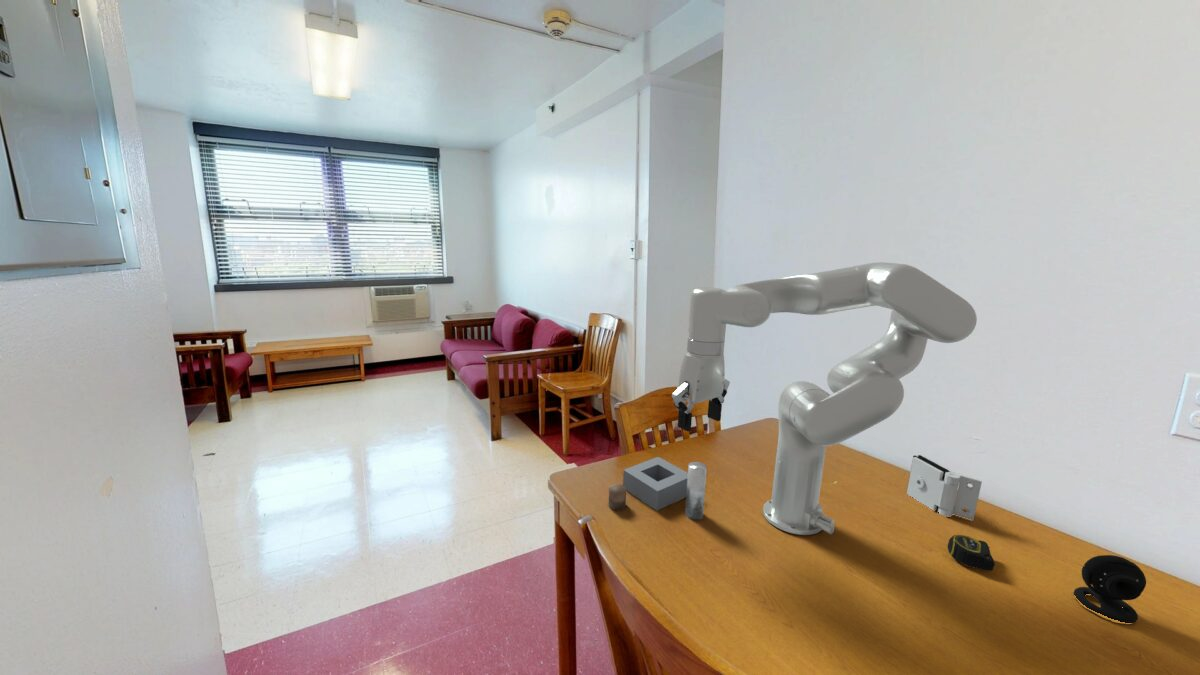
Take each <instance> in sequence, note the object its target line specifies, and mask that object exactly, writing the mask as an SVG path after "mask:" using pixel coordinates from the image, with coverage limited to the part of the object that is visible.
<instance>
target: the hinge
mask: <svg viewBox="0 0 1200 675" xmlns="http://www.w3.org/2000/svg"><path fill="white" fill-rule="evenodd" d="M908 478H909V479H908V483H907V488H906V495H907V494H908V497H910V496H911V497H910V498H912V497H913V498H914V499H913V498H912V499H913V500H915V499H916V500H915V501H916V502H918V501H919V502H918V503H920V502H921V503H922V504H921V503H920V504H921V505H923V504H924V505H926V506H927V507H929V508H930V509H932V510H936V511H937V513H938V512H939V514H941V515H944V516H949V517H950V516H952V517H953V515H952V514H955V515H958V516H961V517H965V518H968V519H971V520H973V521H974V520H975V515H976V510H977V505H978V502H979V498H980V497H979V496H980V492H981V487H982V482H983V480H982V479H979V478H975V477H972V476H968V475H964V474H961V473H957V472H955V471H954V470H952V469H950V468H948V467H946V466H944V465H942V464H940V463H938V462H937V461H934V460H932V459H931V458H929V457H927V456H923V455H921V454H919V455H913V456H912V460H911V466H910V472H909V477H908ZM969 485H972V486H969ZM924 505H923V506H924ZM926 506H925V507H926ZM927 507H926V508H927ZM937 507H938V508H937ZM929 508H928V509H929ZM930 509H929V510H930ZM964 509H966V511H964ZM932 510H931V511H932ZM939 514H938V515H939ZM941 515H940V516H941Z"/></svg>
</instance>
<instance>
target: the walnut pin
mask: <svg viewBox="0 0 1200 675" xmlns="http://www.w3.org/2000/svg"><path fill="white" fill-rule="evenodd" d="M626 503H627V491H626V487H625V486H624V485H623V483H622V484H621V483H613V484H611V485H609V487H608V508H609V509H610V510H613V511H615V512H616V511H617V512H618V511H623V510H624V509H626V508H627V507H626V506H627V504H626Z"/></svg>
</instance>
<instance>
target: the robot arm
mask: <svg viewBox="0 0 1200 675" xmlns="http://www.w3.org/2000/svg"><path fill="white" fill-rule="evenodd" d="M689 300H690V301H689V312H688V313H689V316H688V329H687V331H688V332H687V343H686V344H687V345H686V353H684V354H683V357H682V361H681V366H680V372H679V378H678V385H677V389H676V390H675V391H674V392H672V394H671V398H672V400H673V401H672V402H673V405H674V406H675V408H676V410H677V411H678V417H677V428H679V429H681V430H683V431H686V432H690V431H691V430H692V420H693V413H692V412H691V411H692V410H693V408H694V406H695V404H699V403H703V402H706V401H708V404H707V405H708V406H707V418H709V419H711V420H714V421H716V422H719V421H720V422H721V420H722V408H723V404H724V402H725V397H726V395H728V394H727V393H728V388H729V386H730V384H731V381H730V380H728V379H726V378H725V374H726V373H725V371H726V370H725V366H726V365H725V354H724V353H725V352H724V350H725V340H726V332H727V331H726V329H727V325H730V326H731V325H732V326H737V327H743V328H755V327H759V326H762V325H763V324H765V323H766V321H767V320H768V319H769V318H770V315H771V314H775V313H776V314H777V313H793V314H800V315H810V316H814V315H816V316H819V315H820V316H822V315H827V314H833V313H838V312H845V311H850V310H855V309H862V308H867V307H875V306H876V307H881V308H885V309H889V310H891V313H890V318H889V323H888V326H887V327H888V328H887V330H886V332H885V333H884V335H883V336H882V337H881V338H880V339H879V340H877V341H876V342H875V343H873V344H871V345H869V346H867V347H866V348H864V349H862V350H861V351H859V352H857V353H855V354H853V355H851V356H849V357H848V358H846V359H844V360H841V362H839V363H837V364H836V365H834V366H833V367H832V368H830V370H829V372H828V374H827V378H826V382H827V386H828V388H829V390H830V391H831V392H832V393H831V394H830V393H829V392H827V391H825V389H822V387H820V386H819V385H817V384H815V383H813V382H809V381H805V380H804V381H795V382H792V383H790V384H789V385H787V386H786V387H785V388H784V389H783V390H782V392H781V394H780V396H779V399H778V406H777V407H778V408H777V409H778V410H777V412H778V413H777V415H778V416H777V417H778V437H777V448H776V454H775V463H774V465H775V466H774V474H773V481H772V492H771V499H769V500H767V501H766V502H765V503H764V504H763V507H762V514H763V516H764V518H765V519H766V521H767V522H769V524H771V525H772V526H774V527H775V528H777V529H780V530H781V531H784V532H786V533H790V534H793V535H799V536H812V535H817V534H818V533H820V532H821V531H825V533H828V534H829V535H833V533H834V531H835V528H836V527H835V525H834V523H835V519H833V518H831V517H829V516H827V515H825V513H824V512H823V508H824V507H823V505H821V504H819V502H820V495H821V494H820V493H821V487H822V486H821V485H822V480H823V472H824V464H825V459H826V447H830V446H834V445H837V444H840V443H843V442H844V441H847V440H849V439H851V438H853V437H855V436H857V435H859V434H860V433H862V432H864V431H866V430H868V429H870V428H871V427H874V426H875V425H877V424H880V423H881V422H883V421H885V420H886V419H888V418H889V417H891V416H892V415H893V414H895V412H896V411H897V410H898V409H899V408H900V407H901V405H902V403H903V400H904V395H905V389H904V386H903V384H902V381H901V380H900V379H902V378H904V377H905V376H908V375H909V374H910V373H912V371H914V370H915V369H916V368H917V367H918V366H919V365H920V363H921V362H922V359H923V358H924V354H925V351H926V347H927V343H928V340H931V341H935V342H939V343H943V344H953V343H957V342H961V341H963V340H965V339H967V338H968V337H969V336H970V335H971V334H972V333H973V332H974V330H975V328H976V326H977V314H976V313H977V312H976V310H975V309H974V307H973V306H972V305H971V303H970V302H968V300H966V298H965V299H964V298H963V297H962V296H960V295H959V294H957V293H955V291H953V290H952V289H949V288H948V287H946V286H945V285H943V284H942V283H940V282H939V281H938V280H936V279H935V278H933V277H932V276H930V275H928V274H927V273H925V272H924V271H922V270H920V269H918V268H917V267H914V266H912V265H910V264H905V263H893V262H883V261H882V262H881V261H880V262H871V263H864V264H860V265H853V266H847V267H843V268H842V267H841V268H838V269H837V268H836V269H832V270H826V271H821V272H820V271H819V272H814V273H807V274H799V275H794V276H793V275H792V276H787V277H779V278H771V279H765V280H759V281H758V280H757V281H752V282H747V283H742V284H737V285H735V286H734V285H733V286H732V287H730V288H728V289H727V290H725V289H722V288H720V287H719V288H718V287H698V288H695V289H693V290H692V291H691V293H690V299H689ZM687 402H688V403H687ZM686 403H687V404H686Z"/></svg>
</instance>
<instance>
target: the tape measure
mask: <svg viewBox="0 0 1200 675" xmlns="http://www.w3.org/2000/svg"><path fill="white" fill-rule="evenodd" d="M947 550H948V553H949V555H950V556H951V557H952V558H953V559H954V560H956V561H957V562H958V563H960V564H962V565H964V564H965V565H964V566H966V565H967V567H969V568H973V567H974V569H979V570H983V571H987V572H989V571H990V572H992V571H993V570H994V569H995V566H996V565H995V561H994V560H995V559H994V558H993V556H992V554H991V550H990V546H989V544H988V543H987V541H984V540H977V539H975V537H971V536H968V535H964V534H954V535H953V536H951V537H949V539H948V543H947Z"/></svg>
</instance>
